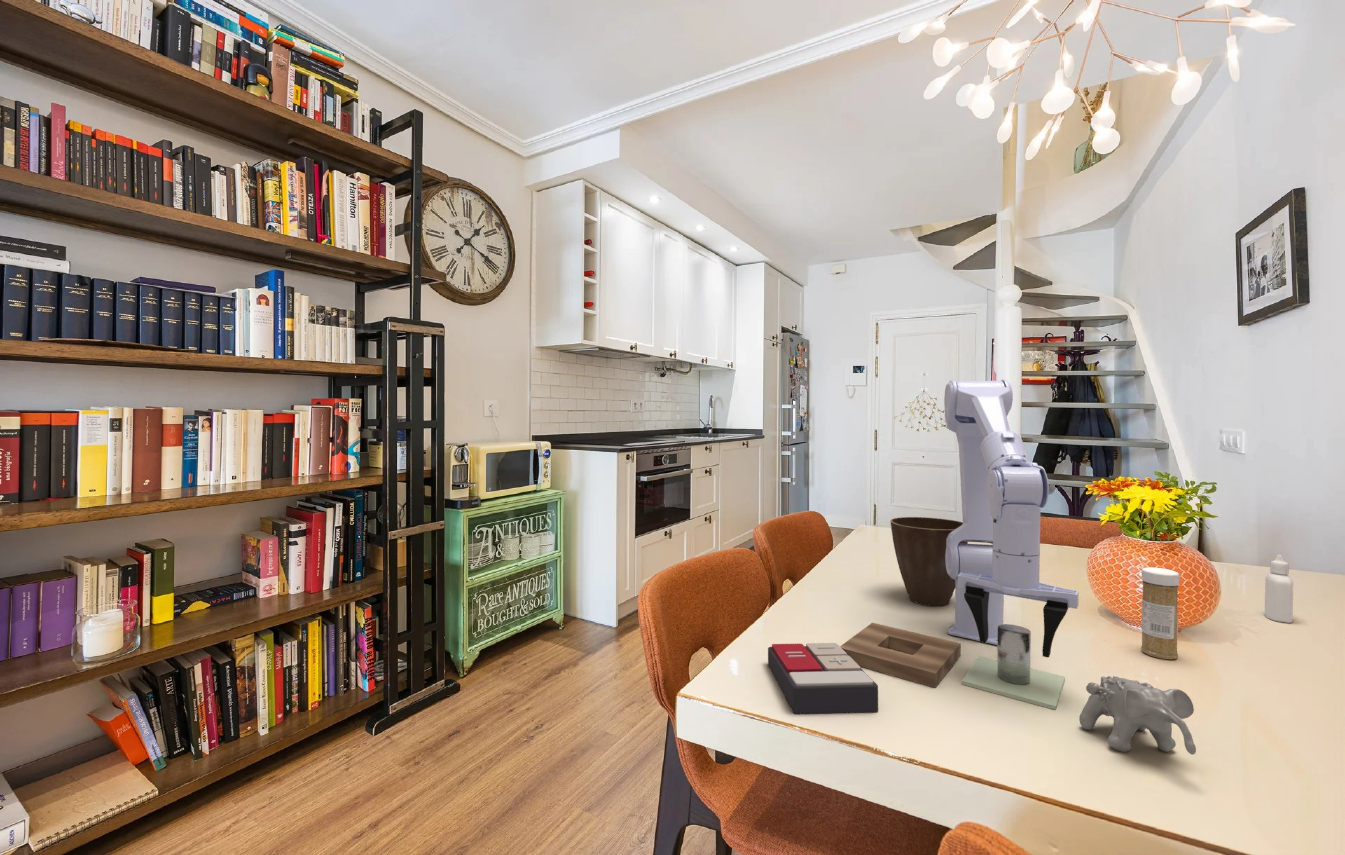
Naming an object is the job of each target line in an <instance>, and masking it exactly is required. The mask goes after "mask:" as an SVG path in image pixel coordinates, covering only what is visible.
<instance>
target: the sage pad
mask: <svg viewBox="0 0 1345 855" xmlns="http://www.w3.org/2000/svg"><path fill="white" fill-rule="evenodd" d="M1065 682H1066V676H1064V675H1060V674H1056V673H1051V672H1048V671H1045V670H1044V671H1043V670H1040V669H1036V668H1035V669H1034V668H1031V667H1030V684H1028V685H1015V684H1011V683H1007V682H1005V681H1002V680H1001V679H999V678H998V676H997V659H994V658H989V657H986V656H981V655H978V657H977V658H976V659H975V661H974V662H973V664H971V667H970V668H969V669H968V671H967V672H966V673H965V675H964V677H963V678H962V680H961V685H963V686H967V687H970V688H974V689H977V690H981V691H985V692H989V693H992V694H996V695H1000V696H1003V697H1006V698H1010V699H1014V700H1018V701H1021V702H1025V703H1029V704H1033V705H1036V706H1040V707H1042V708H1043V707H1044V708H1047V709H1050V710H1055V711H1056V710H1057V707H1058V703H1059V701H1060V700H1059V699H1060V697H1061V694H1062V690H1063V688H1064V686H1065V685H1064V684H1065Z"/></svg>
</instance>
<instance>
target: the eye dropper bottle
mask: <svg viewBox="0 0 1345 855" xmlns="http://www.w3.org/2000/svg"><path fill="white" fill-rule="evenodd" d="M1275 557H1276V558H1275V559H1274V560H1270V561H1269V564H1270V565H1269V568H1270V569H1269V573H1267V574H1266V575H1265V579H1264V616H1265V617H1266V618H1268V620H1272V621H1273V622H1277V623H1278V622H1279V623H1286V624H1292V622H1293V620H1294V618H1293V617H1294V581H1293V578H1291V576H1290V575H1289V574H1290V564H1289V563H1288V562H1286V561H1285V560H1284V557H1283V555H1282V554H1276V556H1275Z"/></svg>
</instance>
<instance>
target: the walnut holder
mask: <svg viewBox="0 0 1345 855" xmlns="http://www.w3.org/2000/svg"><path fill="white" fill-rule="evenodd" d="M839 646H840V647H841V648H842V649H843V650H844V651H845V652H846V653H847V655H848V656H850V657H851V658H852V659H853V660H854V661H855V662H856V663H857V664H858V665H859V666H860V667H861V668H865V669H868V670H872V671H875V672H879V673H883V674H886V675H889V676H892V677H896V678H900V679H904V680H907V681H910V682H913V681H914V683H917V684H921V685H925V686H928V687H931V688H934V689H935V688H937V687H938V686H939V685H940V683H941V682H940V681H942V680H943V679H944V678H945V677H946V675H947V674H948V673H949V672H950V670H951V669H952V668H953V667H954V665H955V664H956V663H955V662H957V661H958V660H959V659H958V658H961V655H962V642H958V641H953V640H950V639H944V638H939V637H936V636H931V635H928V634H925V633H924V634H923V633H919V632H914V631H909V630H906V629H901V628H897V627H893V626H888V625H884V624H880V623H875V622H871V623H869V625H867V626H866V627H864V628H863V629H862V630H861V631H859V632H857V633H856V634H855V635H853V636H852V637H851V638H849V639H848V640H847V641H845V642H844V643H843V644H841V645H839ZM909 653H910V654H909ZM951 667H952V668H951Z"/></svg>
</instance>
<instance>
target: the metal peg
mask: <svg viewBox="0 0 1345 855" xmlns="http://www.w3.org/2000/svg"><path fill="white" fill-rule="evenodd" d="M1031 633H1032V632H1031V630H1030V629H1028V628H1027V627H1024V626H1020V625H1017V624H1009V623H1008V624H1007V623H1006V624H1005V623H1003V624H1002V625H998V645H997V654H996V655H997V659H996V660H997V676H998V678H999V679H1001V680H1002V681H1005V682H1007V683H1011V684H1015V685H1028V684H1030V668H1031V650H1032V648H1031V643H1032V642H1031V635H1032V634H1031Z"/></svg>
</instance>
